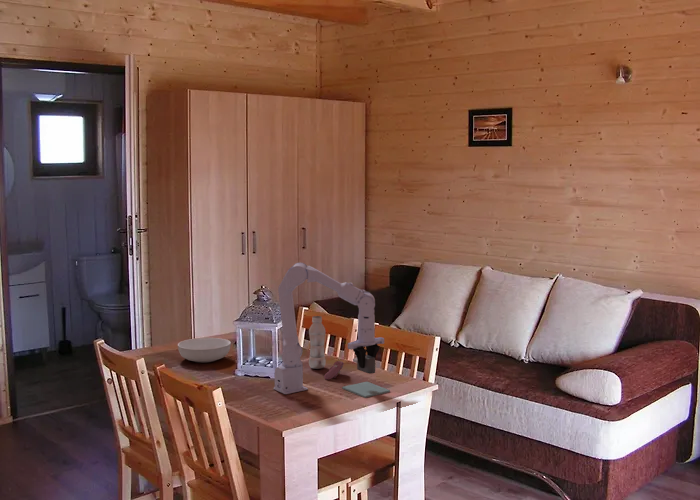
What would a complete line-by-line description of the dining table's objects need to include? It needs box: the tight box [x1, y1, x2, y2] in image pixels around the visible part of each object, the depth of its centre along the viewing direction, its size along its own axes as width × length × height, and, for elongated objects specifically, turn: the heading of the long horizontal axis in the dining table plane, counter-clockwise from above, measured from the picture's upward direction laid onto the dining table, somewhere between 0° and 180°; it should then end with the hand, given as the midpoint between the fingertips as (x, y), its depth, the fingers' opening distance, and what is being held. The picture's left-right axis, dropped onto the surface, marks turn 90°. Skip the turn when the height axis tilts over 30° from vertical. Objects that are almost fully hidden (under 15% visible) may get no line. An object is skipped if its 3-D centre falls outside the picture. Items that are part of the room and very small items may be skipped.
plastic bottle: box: [308, 315, 327, 370], centre depth 295 cm, size 6×7×20 cm
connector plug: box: [352, 354, 376, 375], centre depth 268 cm, size 3×11×5 cm, turn 37°
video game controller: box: [323, 360, 345, 380], centre depth 285 cm, size 10×5×7 cm, turn 169°
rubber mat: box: [341, 381, 391, 398], centre depth 268 cm, size 11×13×1 cm
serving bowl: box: [177, 337, 232, 364], centre depth 308 cm, size 21×21×7 cm
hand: (366, 366), depth 267 cm, fingers closed on connector plug, 3 cm apart
